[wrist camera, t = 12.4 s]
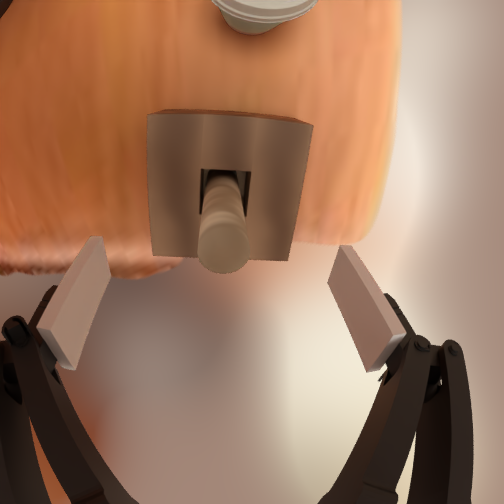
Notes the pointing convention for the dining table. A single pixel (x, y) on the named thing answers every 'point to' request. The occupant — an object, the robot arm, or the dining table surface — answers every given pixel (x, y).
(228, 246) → the dowel
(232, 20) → the coffee cup
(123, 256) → the dining table surface
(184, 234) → the bore block
